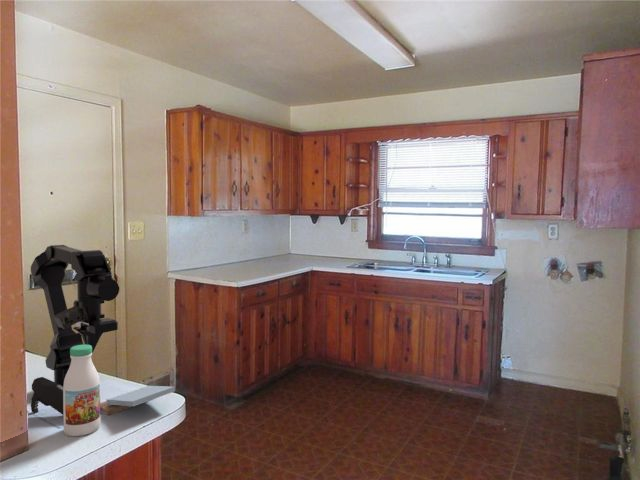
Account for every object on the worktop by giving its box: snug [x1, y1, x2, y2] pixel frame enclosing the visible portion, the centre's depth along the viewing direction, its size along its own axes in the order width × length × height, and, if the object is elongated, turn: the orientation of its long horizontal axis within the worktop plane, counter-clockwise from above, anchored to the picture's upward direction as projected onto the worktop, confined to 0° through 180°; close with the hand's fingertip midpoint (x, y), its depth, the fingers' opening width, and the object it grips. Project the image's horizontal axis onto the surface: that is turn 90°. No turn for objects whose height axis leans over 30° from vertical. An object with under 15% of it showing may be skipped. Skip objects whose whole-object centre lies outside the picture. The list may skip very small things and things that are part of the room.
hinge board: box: [100, 400, 133, 416], centre depth 122 cm, size 6×14×1 cm, turn 144°
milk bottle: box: [62, 344, 101, 437], centre depth 106 cm, size 8×8×20 cm
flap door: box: [106, 385, 176, 407], centre depth 118 cm, size 2×12×13 cm
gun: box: [30, 376, 64, 416], centre depth 114 cm, size 3×16×10 cm, turn 79°
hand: (90, 352), depth 124 cm, fingers closed
